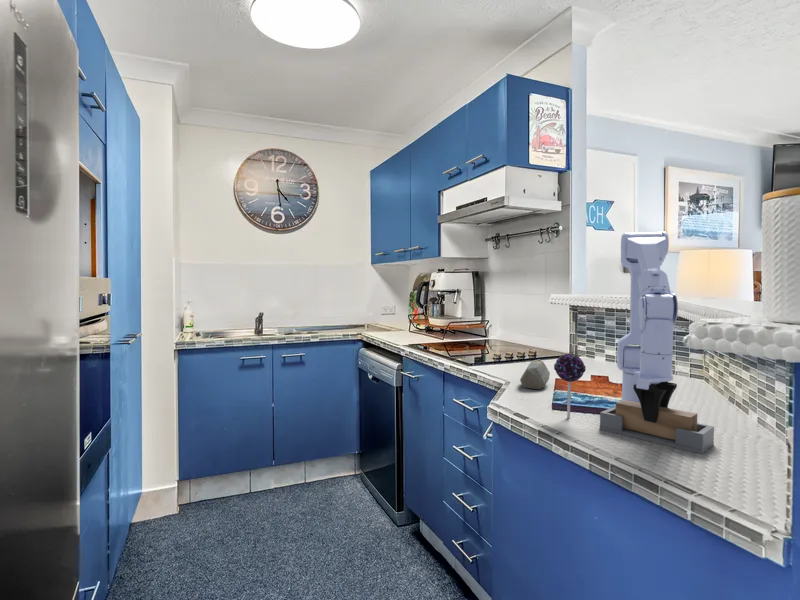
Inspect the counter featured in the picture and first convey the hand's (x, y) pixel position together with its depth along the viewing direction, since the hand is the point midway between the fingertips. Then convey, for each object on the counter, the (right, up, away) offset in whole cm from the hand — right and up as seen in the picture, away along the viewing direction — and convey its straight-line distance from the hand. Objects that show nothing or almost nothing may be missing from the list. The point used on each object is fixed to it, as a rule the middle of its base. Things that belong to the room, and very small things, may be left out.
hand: (654, 419), depth 94 cm
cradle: (0, -4, 0) cm, 4 cm away
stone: (-11, -2, +47) cm, 48 cm away
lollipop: (-13, -3, +13) cm, 18 cm away
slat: (0, -3, 0) cm, 3 cm away
